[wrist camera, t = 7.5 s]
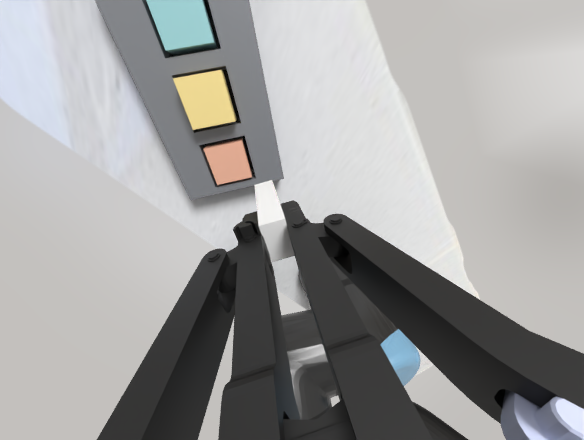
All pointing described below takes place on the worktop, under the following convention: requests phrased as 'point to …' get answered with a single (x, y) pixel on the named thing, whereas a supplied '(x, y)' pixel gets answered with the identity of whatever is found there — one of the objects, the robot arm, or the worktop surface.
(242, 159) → the terracotta button
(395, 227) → the worktop surface
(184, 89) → the yellow button
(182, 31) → the teal button
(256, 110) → the button panel
